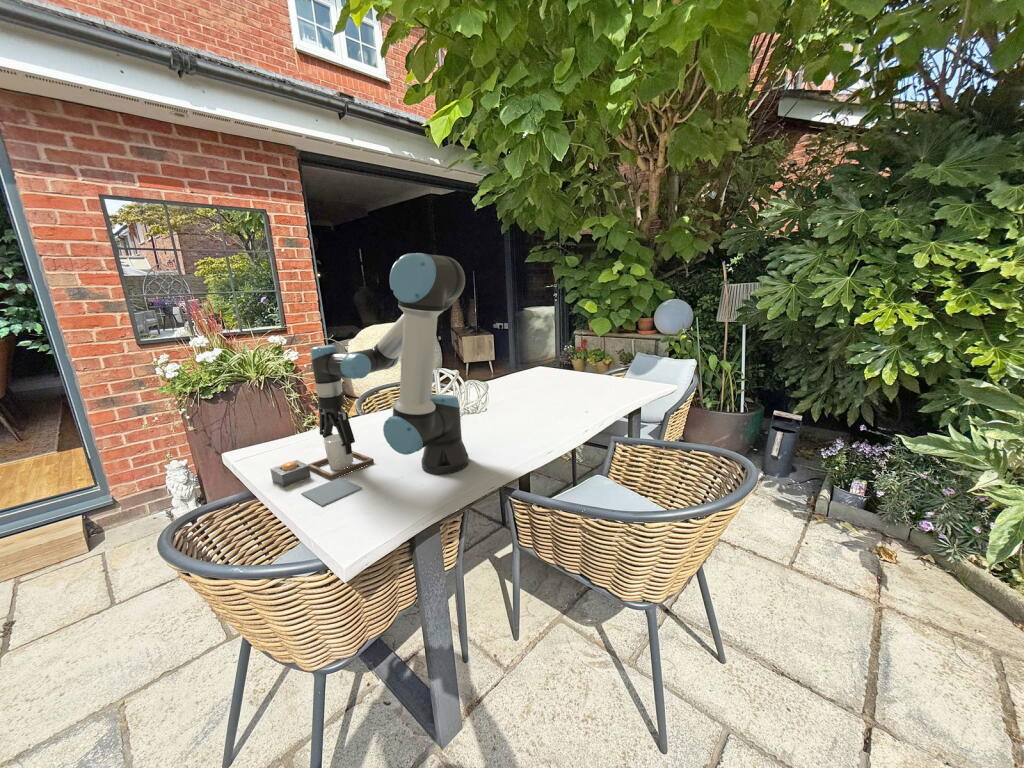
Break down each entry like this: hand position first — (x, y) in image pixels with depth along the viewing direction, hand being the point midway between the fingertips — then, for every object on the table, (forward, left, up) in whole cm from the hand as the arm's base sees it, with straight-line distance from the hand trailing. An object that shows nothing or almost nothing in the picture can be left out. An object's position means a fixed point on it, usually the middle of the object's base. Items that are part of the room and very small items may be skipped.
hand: (340, 459), depth 131 cm
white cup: (0, 0, -3) cm, 3 cm away
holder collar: (0, 0, -2) cm, 2 cm away
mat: (-15, +11, -2) cm, 19 cm away
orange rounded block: (+4, +14, -1) cm, 15 cm away
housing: (+4, +14, -2) cm, 15 cm away
